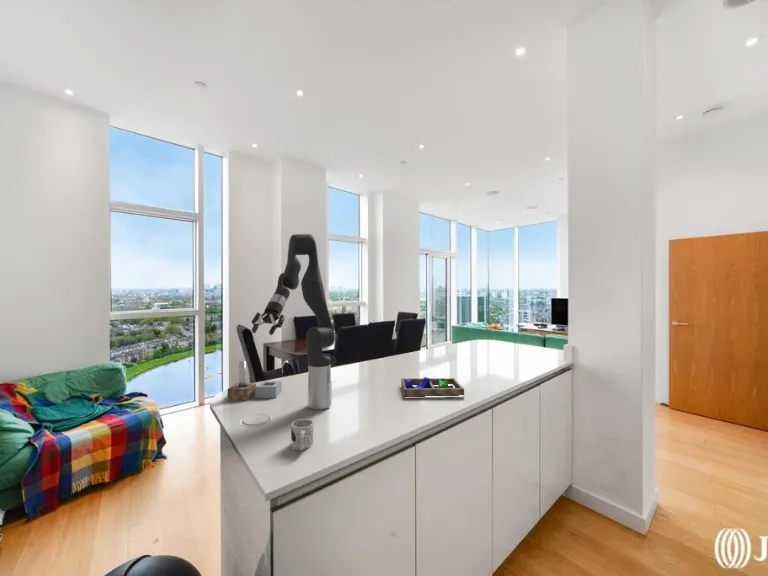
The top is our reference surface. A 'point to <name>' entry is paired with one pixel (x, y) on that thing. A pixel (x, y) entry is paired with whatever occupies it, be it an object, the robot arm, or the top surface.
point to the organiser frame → (432, 388)
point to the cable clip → (423, 385)
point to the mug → (301, 434)
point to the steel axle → (242, 374)
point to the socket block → (268, 389)
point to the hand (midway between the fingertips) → (261, 333)
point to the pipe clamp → (443, 384)
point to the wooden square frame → (241, 392)
